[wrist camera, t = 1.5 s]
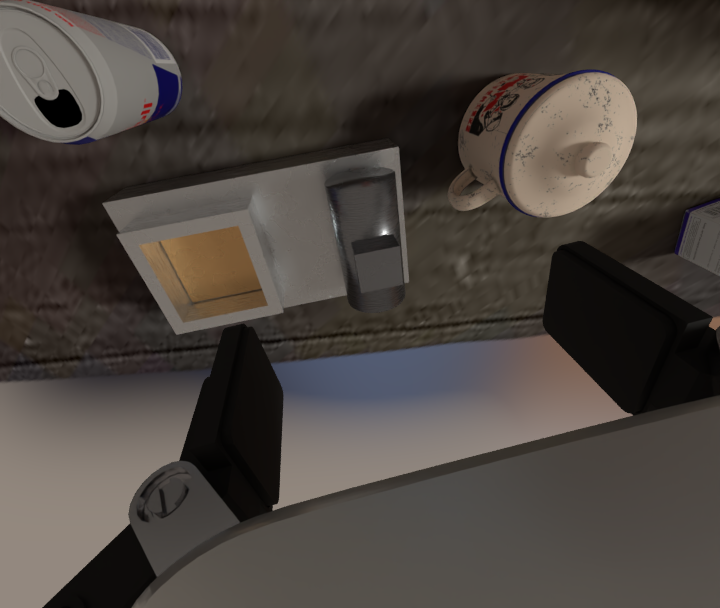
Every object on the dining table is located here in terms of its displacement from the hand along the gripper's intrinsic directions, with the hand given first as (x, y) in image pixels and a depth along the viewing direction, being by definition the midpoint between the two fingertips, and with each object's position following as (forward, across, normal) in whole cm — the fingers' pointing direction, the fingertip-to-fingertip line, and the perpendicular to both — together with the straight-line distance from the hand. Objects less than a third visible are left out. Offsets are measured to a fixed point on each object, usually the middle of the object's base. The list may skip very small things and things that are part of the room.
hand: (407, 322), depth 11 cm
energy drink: (+23, +12, -9) cm, 27 cm away
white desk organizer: (+23, +7, +4) cm, 24 cm away
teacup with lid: (+23, -14, +1) cm, 27 cm away
